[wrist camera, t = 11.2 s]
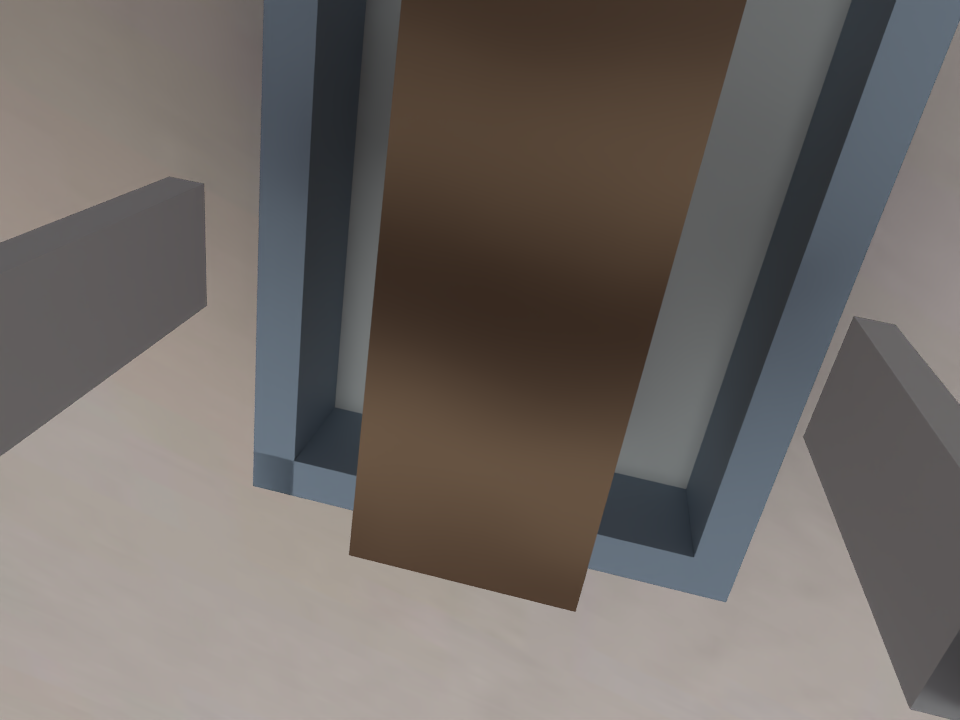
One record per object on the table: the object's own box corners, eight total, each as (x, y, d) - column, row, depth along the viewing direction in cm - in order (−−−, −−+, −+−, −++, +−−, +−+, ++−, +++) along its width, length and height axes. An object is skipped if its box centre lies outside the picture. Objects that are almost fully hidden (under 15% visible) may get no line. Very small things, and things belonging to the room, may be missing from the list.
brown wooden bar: (589, 463, 25) (575, 611, 19) (417, 423, 26) (349, 555, 19) (718, -35, 18) (764, -61, 12) (483, -73, 19) (412, -116, 13)
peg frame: (330, -271, 21) (250, -346, 17) (984, -179, 19) (1089, -237, 15) (294, 436, 32) (239, 504, 27) (716, 536, 30) (731, 627, 26)
